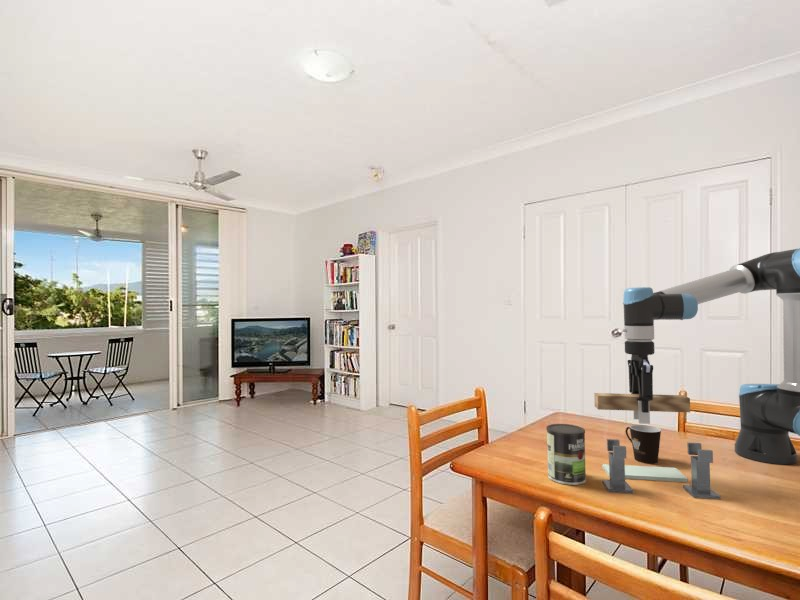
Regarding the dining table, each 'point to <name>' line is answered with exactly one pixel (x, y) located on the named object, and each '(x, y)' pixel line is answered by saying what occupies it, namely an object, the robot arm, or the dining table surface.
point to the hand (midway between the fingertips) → (641, 421)
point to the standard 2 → (700, 472)
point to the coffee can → (566, 454)
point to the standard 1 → (617, 468)
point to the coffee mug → (645, 443)
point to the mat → (651, 473)
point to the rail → (630, 402)
